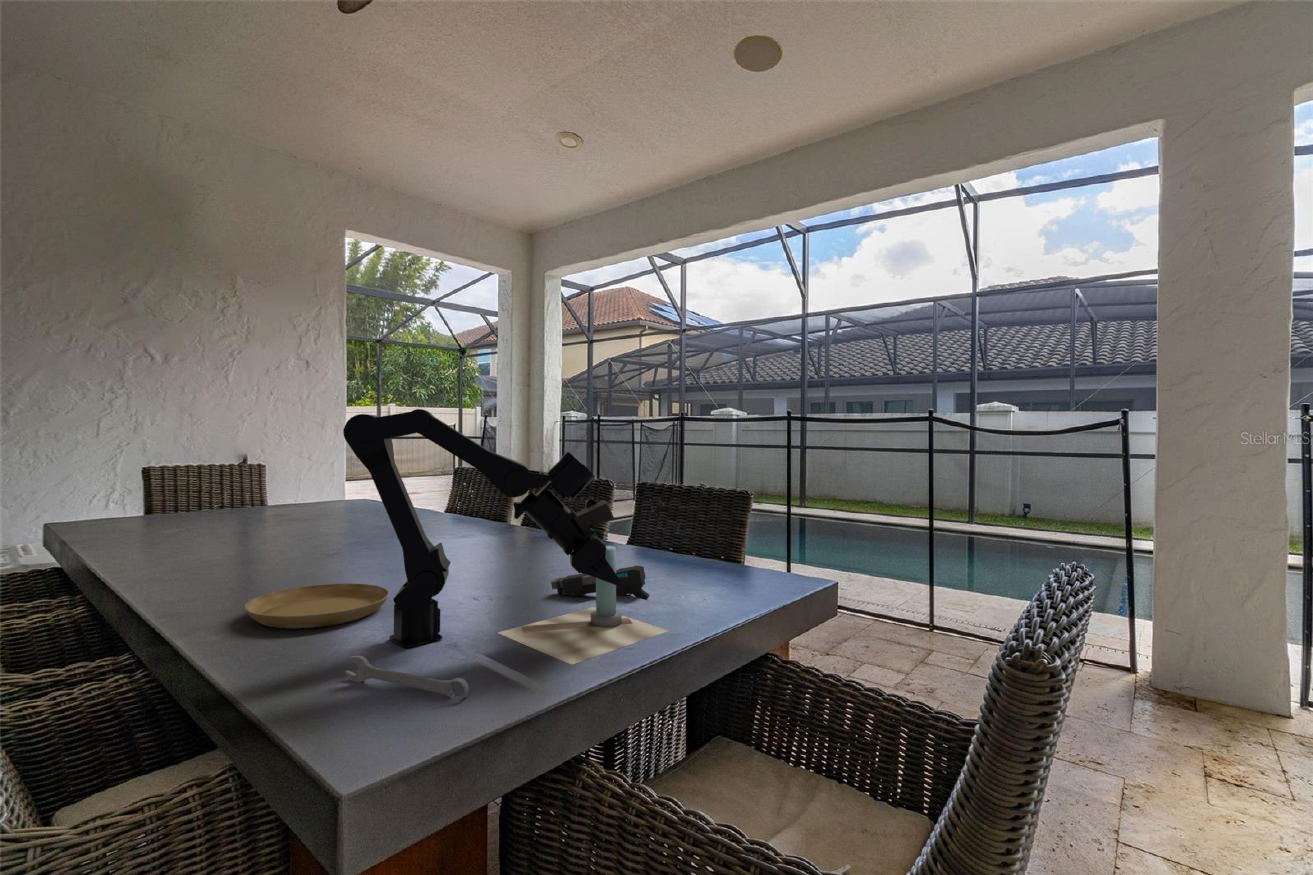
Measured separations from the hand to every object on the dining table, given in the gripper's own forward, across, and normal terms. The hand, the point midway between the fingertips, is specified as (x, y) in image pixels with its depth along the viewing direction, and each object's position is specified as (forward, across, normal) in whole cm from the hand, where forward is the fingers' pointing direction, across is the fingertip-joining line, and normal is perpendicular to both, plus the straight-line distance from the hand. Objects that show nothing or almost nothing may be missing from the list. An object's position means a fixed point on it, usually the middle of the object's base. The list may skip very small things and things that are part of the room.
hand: (614, 577), depth 110 cm
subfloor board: (+2, -4, +11) cm, 12 cm away
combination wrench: (-16, -20, +30) cm, 39 cm away
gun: (+7, +21, +6) cm, 23 cm away
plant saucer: (-31, +19, +45) cm, 58 cm away
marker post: (+5, 0, +7) cm, 8 cm away
